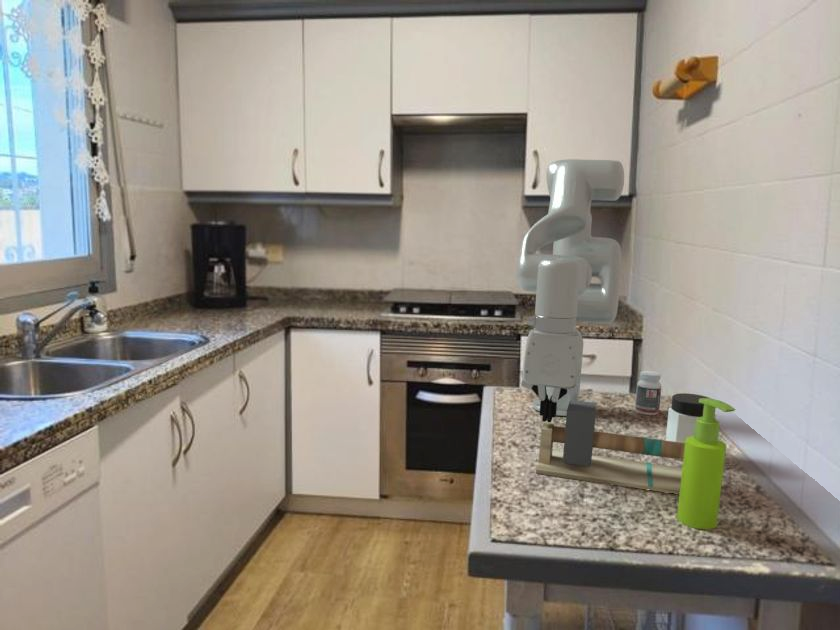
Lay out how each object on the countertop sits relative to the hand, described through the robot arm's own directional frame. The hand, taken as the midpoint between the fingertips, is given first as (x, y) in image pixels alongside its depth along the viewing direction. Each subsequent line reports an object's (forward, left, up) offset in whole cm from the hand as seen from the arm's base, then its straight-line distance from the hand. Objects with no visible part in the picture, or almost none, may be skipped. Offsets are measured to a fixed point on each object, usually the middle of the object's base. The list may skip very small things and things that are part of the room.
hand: (547, 419), depth 127 cm
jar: (-16, +27, -9) cm, 33 cm away
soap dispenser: (+16, +26, -9) cm, 32 cm away
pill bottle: (-45, +20, -9) cm, 50 cm away
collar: (0, +6, -7) cm, 9 cm away
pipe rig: (0, +14, -9) cm, 17 cm away
